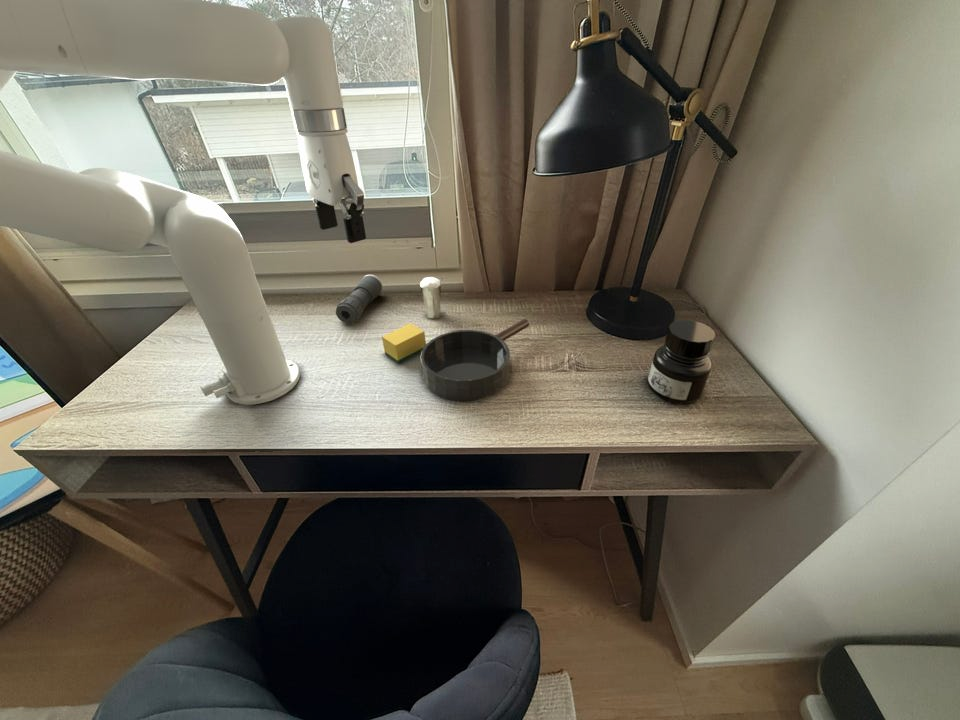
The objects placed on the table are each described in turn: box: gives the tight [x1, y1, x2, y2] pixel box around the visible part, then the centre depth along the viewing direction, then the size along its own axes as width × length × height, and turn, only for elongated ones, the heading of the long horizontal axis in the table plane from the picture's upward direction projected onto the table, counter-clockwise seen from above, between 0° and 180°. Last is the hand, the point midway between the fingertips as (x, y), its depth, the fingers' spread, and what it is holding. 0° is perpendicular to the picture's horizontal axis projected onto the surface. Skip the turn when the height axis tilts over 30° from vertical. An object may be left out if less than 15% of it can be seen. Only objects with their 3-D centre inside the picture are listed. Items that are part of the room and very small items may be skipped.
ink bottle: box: [647, 319, 716, 405], centre depth 71 cm, size 10×9×12 cm
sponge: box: [381, 323, 427, 365], centre depth 84 cm, size 7×5×4 cm, turn 135°
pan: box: [419, 329, 511, 402], centre depth 78 cm, size 16×16×4 cm
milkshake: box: [419, 276, 444, 320], centre depth 94 cm, size 4×5×10 cm
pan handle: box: [494, 318, 530, 342], centre depth 85 cm, size 9×2×2 cm, turn 135°
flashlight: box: [335, 274, 384, 325], centre depth 99 cm, size 15×5×5 cm, turn 169°
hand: (342, 234), depth 74 cm, fingers open, 9 cm apart
